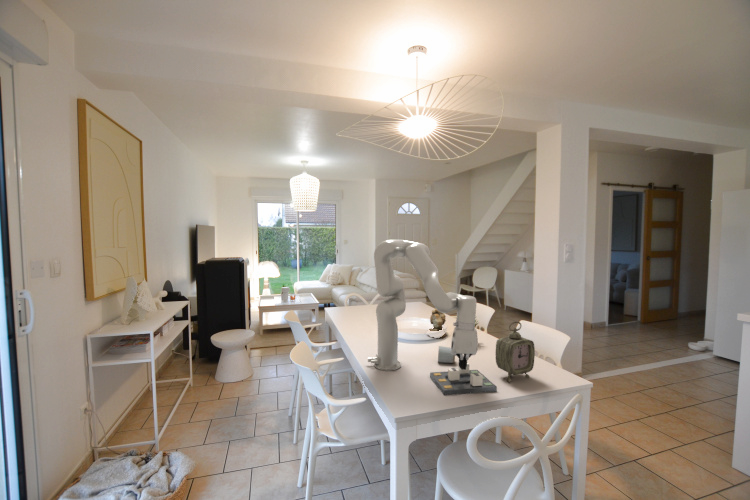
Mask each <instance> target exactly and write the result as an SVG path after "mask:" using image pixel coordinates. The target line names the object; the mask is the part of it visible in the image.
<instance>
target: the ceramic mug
mask: <svg viewBox="0 0 750 500" xmlns="http://www.w3.org/2000/svg"><path fill="white" fill-rule="evenodd" d="M451 351H452V349H451V347H447V346H442V345H438V354H437V362H438V363H445V364H454V363H455V361H456V356H455V355H452V354H451Z"/></svg>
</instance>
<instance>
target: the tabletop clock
mask: <svg viewBox="0 0 750 500" xmlns="http://www.w3.org/2000/svg"><path fill="white" fill-rule="evenodd" d="M514 324H519V327H518V328H517V327H514V328H513V329H511V326H512V325H514ZM521 328H522V323H521V322H519V321H513V322H511V323H510V324H509V326H508V329H509V330H510V331H511V332H509V334H508V336H504V337H501V338H498V339H497V340H496V343H495V363H496V366H497V368H498V369H500V370H502V371H504V372H506V373H507V376H508V378H507V379H506V382H508V383H511V382H512V379H511V377H512V375H514V376H518V375H519V376H520V375H523V374H525V378H526V379H529V378H530V375H529V374H527V373H529V372H531V371H533V369H534V367H535V358H536V357H535V355H536V354H535V343H534V341H533V340H530V339H528V338H525V337H523V336H522V335H521V334H520V332H518V331H520V330H521Z"/></svg>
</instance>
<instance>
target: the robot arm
mask: <svg viewBox="0 0 750 500" xmlns="http://www.w3.org/2000/svg"><path fill="white" fill-rule="evenodd" d="M430 256H431V251H430V248H429V246H428V245H426V244H425V243H422V242H415V241H410V240H406V239H405V240H404V239H392V238H391V239H386V240H383V241H381V242H380V243H379V244H377V246H376V247H375V249H374V252H373V261H374V268H375V270H374V271H375V281H376V291H377V293H378V295H379V296H380V297H384V298H387V299H383V300H382V301H380V302H378V304H377V306H376V309H375V316H376V321H377V354H376V355H375V356H373V357H367V362H368V363H371V364H373V365H374V367H375V368H376V369H378V370H380V371H386V372H388V371H396V370H398V369H400V368H401V366H402V363H401V362H400V361H399V359H398V356H399V355H398V354H399V353H398V352H399V351H398V349H399V348H398V347H399V343H398V342H399V334H398V333H399V332H398V331H399V329H398V322H397V317H401V316H402V315H403V314H404V313H405V311H406V309H407V308H406V303H407V302H406V293H405V284H404V281H403V279H402V278H401V277H400V276H398V275H396V274H395V273H394V266H393V263H392V259H395V258H404V259H407V261H408V262H409V264H410V265H411V266H412V268H413V269H414V271H415V272H416V273H417V275H418V277H419V278H420V280H421V282H422V285H423V290H424V291H425V295H426V296H427V298H428V299H429V301H430V302H431V304H432V305H433V306H434V309H437V310H438V311H439V312H441V313H444V314H449V313H451V312H452V311H455V310H456V320H455V322H453V323H452V326H453V327H454V329H453V332H452V337H451V344H450V348H451V349H452V351H451V354H452V355H455V357H457V358H458V362H459V367H460V368H461V369H462V370H463V369H464V370H466V367H467V362H468V360H469V358H471V357H472V356H475V355H477V353H478V349H479V344H478V343H479V341H478V330H477V328H476V326H475V324H476V322H475V320H476V318H475V317H477V316H476V312H477V298H476V297H475V296H472V295H467V294H465V295H463V294H460V293H456V292H452V291H449V292H446V291H445V290H444V289H443V287H442V285H441V283H440V280H439V269H438V267H437V266H436V264H435V263H434V262H433V261H432V259H431V257H430Z"/></svg>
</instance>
